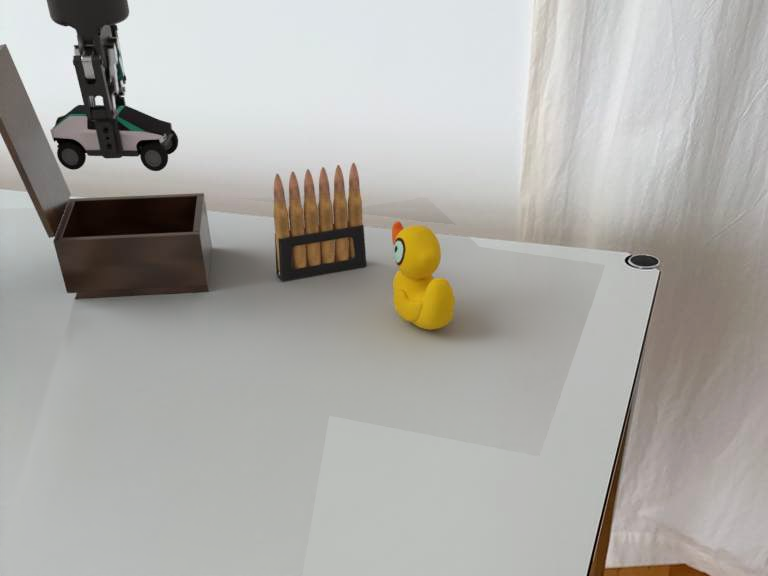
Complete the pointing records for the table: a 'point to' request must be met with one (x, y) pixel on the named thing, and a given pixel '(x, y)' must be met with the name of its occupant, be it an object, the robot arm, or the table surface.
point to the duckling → (420, 278)
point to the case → (134, 245)
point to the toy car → (135, 131)
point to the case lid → (30, 147)
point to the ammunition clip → (318, 227)
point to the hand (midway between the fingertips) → (116, 144)
